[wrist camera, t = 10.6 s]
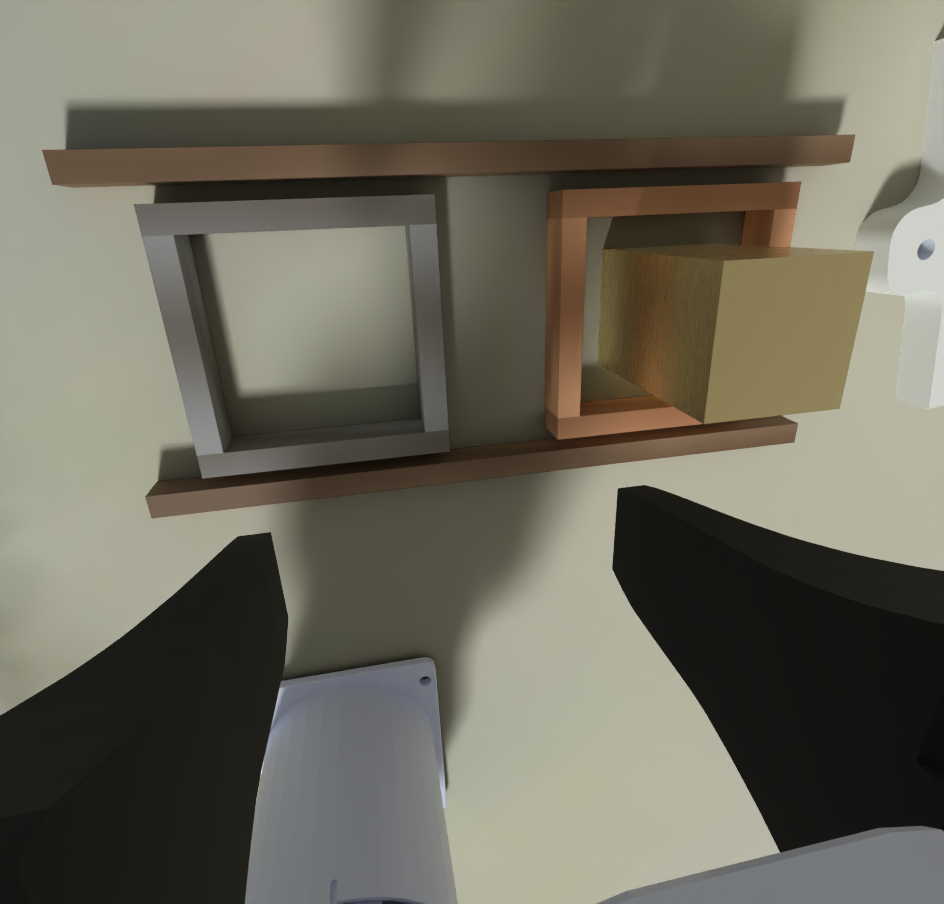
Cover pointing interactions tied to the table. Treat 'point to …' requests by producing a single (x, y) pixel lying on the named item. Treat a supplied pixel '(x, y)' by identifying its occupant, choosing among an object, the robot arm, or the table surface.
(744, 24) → the table surface
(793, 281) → the brass block
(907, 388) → the mounting plate
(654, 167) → the socket rail
